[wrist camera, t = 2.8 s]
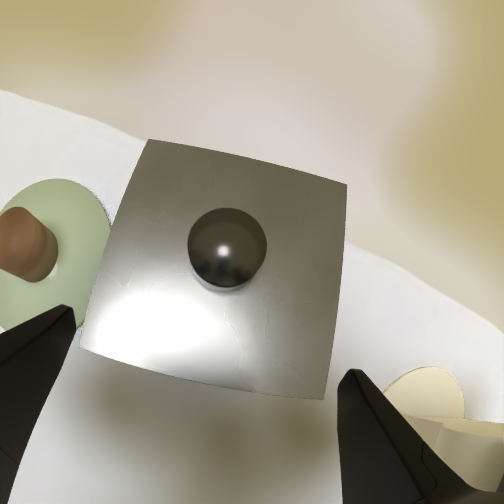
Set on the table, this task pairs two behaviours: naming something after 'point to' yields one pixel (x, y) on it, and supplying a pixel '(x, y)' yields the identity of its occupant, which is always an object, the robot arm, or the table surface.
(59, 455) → the table surface
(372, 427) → the robot arm
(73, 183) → the plate
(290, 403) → the table surface
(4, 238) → the wooden cylinder
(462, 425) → the panda figurine
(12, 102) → the table surface
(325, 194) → the cover
